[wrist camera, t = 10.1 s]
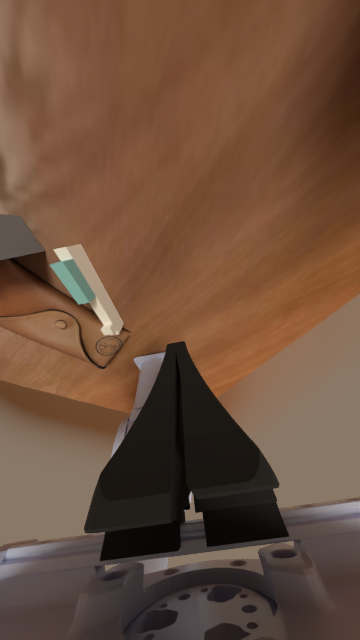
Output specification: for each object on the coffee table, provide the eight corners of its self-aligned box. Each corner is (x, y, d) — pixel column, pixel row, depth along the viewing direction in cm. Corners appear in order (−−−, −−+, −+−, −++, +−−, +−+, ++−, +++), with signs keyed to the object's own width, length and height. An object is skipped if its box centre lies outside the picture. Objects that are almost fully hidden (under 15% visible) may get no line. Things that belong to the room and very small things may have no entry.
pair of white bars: (123, 323, 20) (115, 342, 17) (-14, 348, 21) (-47, 370, 18) (80, 244, 14) (54, 249, 10) (-117, 284, 14) (-200, 300, 11)
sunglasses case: (137, 333, 22) (115, 374, 18) (122, 337, 27) (103, 370, 23) (-10, 243, 13) (-106, 287, 10) (9, 274, 18) (-49, 311, 15)
